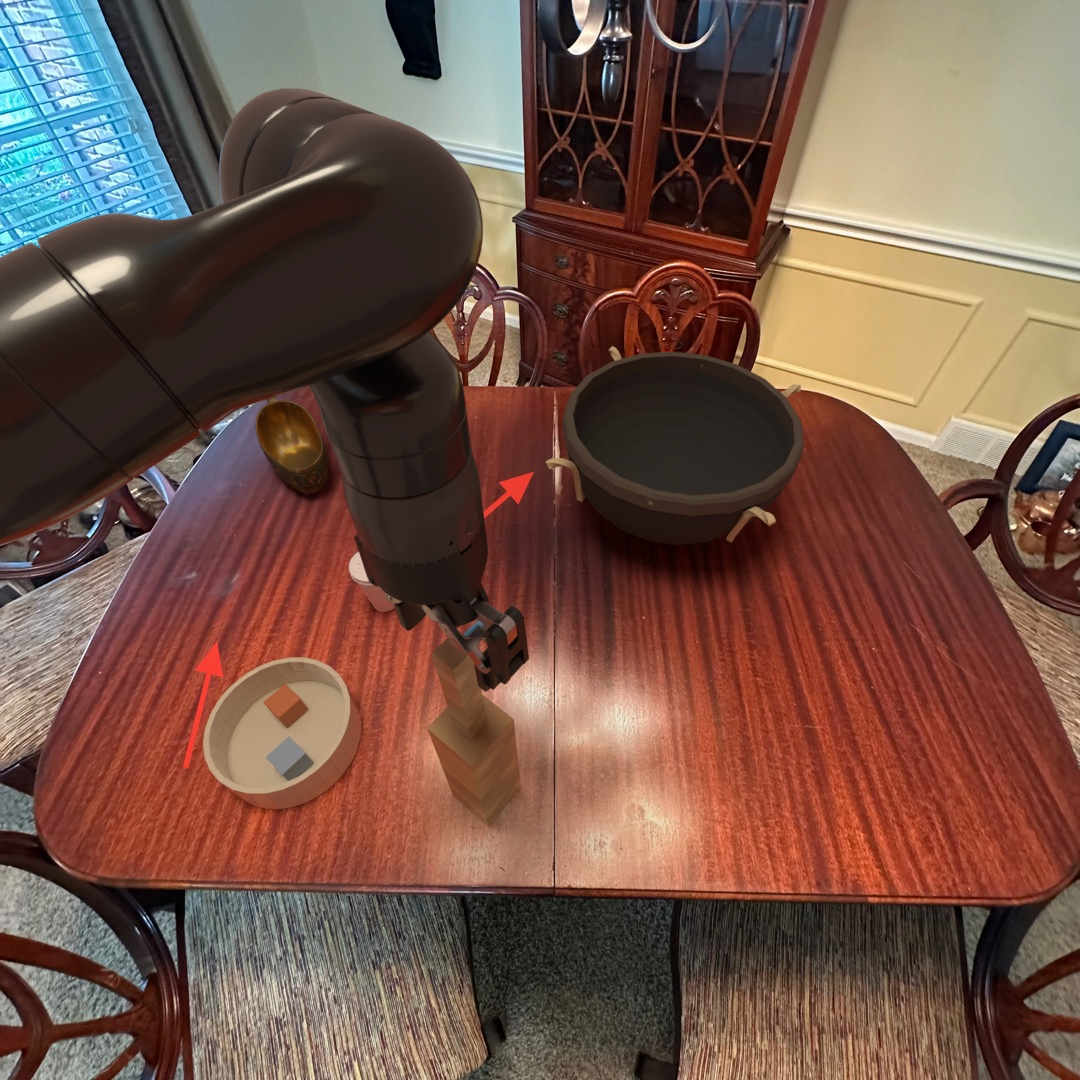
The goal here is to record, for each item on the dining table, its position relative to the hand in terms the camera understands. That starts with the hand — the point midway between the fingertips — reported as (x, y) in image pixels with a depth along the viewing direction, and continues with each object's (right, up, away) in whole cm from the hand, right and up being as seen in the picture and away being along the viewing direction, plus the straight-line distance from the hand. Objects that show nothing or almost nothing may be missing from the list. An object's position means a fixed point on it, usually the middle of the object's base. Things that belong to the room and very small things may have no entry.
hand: (452, 650), depth 48 cm
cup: (-37, +22, +64) cm, 78 cm away
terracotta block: (-26, -14, +32) cm, 44 cm away
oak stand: (0, -22, +26) cm, 34 cm away
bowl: (+28, +14, +56) cm, 64 cm away
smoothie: (-17, -1, +45) cm, 48 cm away
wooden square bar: (0, -9, +11) cm, 14 cm away
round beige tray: (-25, -17, +31) cm, 43 cm away
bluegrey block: (-24, -20, +28) cm, 42 cm away
